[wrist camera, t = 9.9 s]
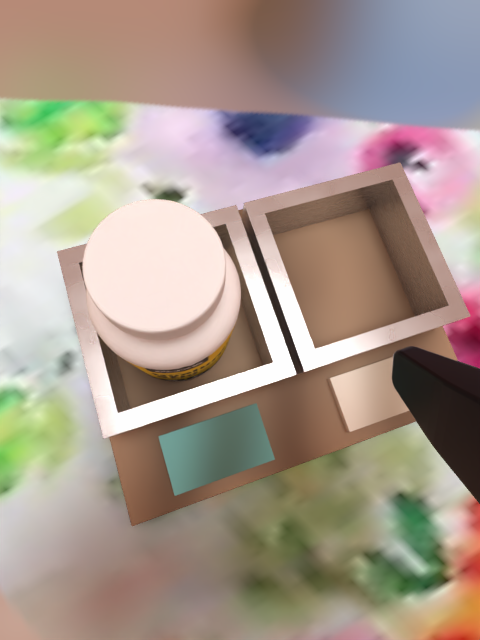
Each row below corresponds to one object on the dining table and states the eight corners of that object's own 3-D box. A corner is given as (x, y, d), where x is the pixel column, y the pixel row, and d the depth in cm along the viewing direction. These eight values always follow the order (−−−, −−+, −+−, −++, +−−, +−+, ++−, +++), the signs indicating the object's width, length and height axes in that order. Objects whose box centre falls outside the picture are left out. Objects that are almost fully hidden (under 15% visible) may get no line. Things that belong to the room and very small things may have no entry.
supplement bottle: (160, 403, 19) (114, 399, 10) (106, 315, 20) (14, 230, 11) (250, 345, 20) (287, 290, 11) (195, 263, 21) (184, 144, 12)
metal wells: (119, 433, 19) (103, 438, 16) (78, 273, 20) (56, 251, 18) (434, 328, 21) (470, 316, 18) (375, 193, 23) (400, 162, 20)
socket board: (136, 519, 19) (129, 529, 17) (71, 264, 22) (60, 252, 20) (460, 400, 22) (481, 399, 20) (367, 185, 24) (379, 169, 23)
